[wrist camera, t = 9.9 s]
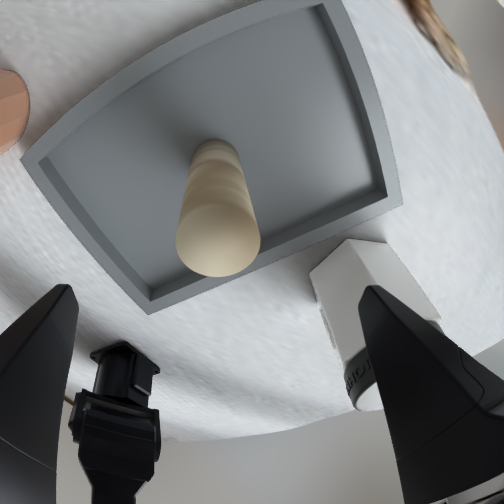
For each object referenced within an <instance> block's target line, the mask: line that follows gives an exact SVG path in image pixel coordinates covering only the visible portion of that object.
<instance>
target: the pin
mask: <svg viewBox="0 0 504 504" xmlns="http://www.w3.org/2000/svg"><path fill="white" fill-rule="evenodd" d="M260 242H261V239H260V233H259V229H258V225H257V222H256V218H255V214H254V211H253V207H252V203H251V200H250V196H249V193H248V189H247V185H246V182H245V178H244V174H243V171H242V167H241V164H240V160H239V156H238V153H237V151H236V149H235V148H234V147H233V146H232V145H231V144H230V143H229V142H227V141H225V140H221V139H210V140H207V141H205V142H203V143H201V144H200V145H199V146H198V147H197V148H196V150H195V151H194V153H193V156H192V161H191V165H190V169H189V174H188V178H187V183H186V187H185V192H184V197H183V202H182V207H181V212H180V217H179V222H178V228H177V233H176V239H175V245H176V250H177V253H178V255H179V257H180V259H181V260H182V262H183V263H184V264H185V265H186V266H187V267H188V268H190V269H191V270H193V271H195V272H197V273H199V274H202V275H205V276H210V277H224V276H229V275H233V274H236V273H238V272H240V271H242V270H243V269H245V268H246V267H248V266H249V265H250V264H251V263H252V262H253V260H254V259H255V258H256V256H257V254H258V252H259V249H260Z"/></svg>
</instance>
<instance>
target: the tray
mask: <svg viewBox="0 0 504 504" xmlns="http://www.w3.org/2000/svg"><path fill="white" fill-rule="evenodd" d="M210 139H221V140H225V141H227V142H229V143H230V144H231V145H232V146H233V147H234V148H235V149H236V151H237V153H238V156H239V160H240V164H241V167H242V171H243V174H244V178H245V182H246V185H247V189H248V193H249V196H250V200H251V203H252V207H253V211H254V214H255V218H256V222H257V225H258V229H259V233H260V239H261V242H260V249H259V252H258V254H257V256H256V258H255V259H254V260H253V262H252V263H251V264H250V265H249V266H248V267H246V268H245V269H243V270H242V271H240V272H238V273H236V274H233V275H229V276H224V277H210V276H205V275H202V274H199V273H197V272H195V271H193V270H191V269H190V268H188V267H187V266H186V265H185V264H184V263H183V262H182V260H181V259H180V257H179V255H178V253H177V250H176V245H175V239H176V233H177V228H178V222H179V217H180V212H181V207H182V202H183V197H184V192H185V187H186V183H187V178H188V174H189V169H190V165H191V161H192V156H193V153H194V151H195V150H196V148H197V147H198V146H199V145H200V144H201V143H203V142H205V141H207V140H210ZM19 160H20V161H21V163H22V164H23V166H24V167H25V169H26V170H27V172H28V173H29V175H30V176H31V178H32V179H33V181H34V182H35V184H36V185H37V187H38V188H39V189H40V191H41V192H42V194H43V195H44V196H45V198H46V199H47V200H48V202H49V203H50V205H51V206H52V207H53V209H54V210H55V211H56V212H57V214H58V215H59V216H60V218H61V219H62V220H63V222H64V223H65V224H66V225H67V227H68V228H69V229H70V230H71V232H72V233H73V234H74V235H75V236H76V238H77V239H78V240H79V241H80V242H81V244H82V245H83V246H84V247H85V248H86V250H87V251H88V252H89V253H90V254H91V255H92V257H93V258H94V259H95V260H96V261H97V262H98V263H99V265H100V266H101V267H102V268H103V269H104V270H105V271H106V272H107V273H108V274H109V276H110V277H111V278H112V279H113V280H114V281H115V282H116V283H117V284H118V285H119V286H120V287H121V288H122V289H123V290H124V292H125V293H126V294H127V295H128V296H129V297H130V298H131V299H132V300H133V301H134V302H135V303H136V304H137V305H138V306H139V307H140V308H141V309H142V310H143V311H144V312H145V313H146V314H147V315H150V314H152V313H155V312H157V311H160V310H162V309H165V308H167V307H169V306H172V305H174V304H177V303H179V302H181V301H184V300H186V299H189V298H191V297H193V296H196V295H198V294H201V293H203V292H205V291H208V290H210V289H213V288H215V287H217V286H220V285H222V284H224V283H227V282H229V281H231V280H234V279H236V278H238V277H241V276H243V275H245V274H248V273H250V272H252V271H255V270H257V269H259V268H262V267H264V266H266V265H269V264H271V263H273V262H276V261H278V260H280V259H282V258H285V257H287V256H289V255H292V254H294V253H296V252H298V251H301V250H303V249H305V248H308V247H310V246H312V245H314V244H317V243H319V242H321V241H323V240H326V239H328V238H330V237H332V236H335V235H337V234H339V233H341V232H343V231H346V230H348V229H350V228H352V227H355V226H357V225H359V224H361V223H363V222H366V221H368V220H370V219H372V218H374V217H377V216H379V215H381V214H383V213H385V212H388V211H390V210H392V209H394V208H396V207H398V206H401V205H403V199H402V193H401V187H400V181H399V176H398V171H397V165H396V161H395V156H394V151H393V147H392V143H391V138H390V134H389V130H388V126H387V123H386V119H385V115H384V112H383V108H382V105H381V101H380V98H379V95H378V91H377V88H376V85H375V82H374V79H373V76H372V73H371V70H370V68H369V65H368V62H367V59H366V57H365V54H364V51H363V49H362V46H361V44H360V41H359V39H358V36H357V34H356V32H355V29H354V27H353V25H352V22H351V20H350V18H349V16H348V14H347V11H346V9H345V7H344V5H343V3H342V1H341V0H262V1H259V2H256V3H253V4H250V5H247V6H245V7H242V8H239V9H237V10H234V11H232V12H229V13H227V14H224V15H222V16H219V17H217V18H215V19H212V20H210V21H208V22H206V23H204V24H201V25H199V26H197V27H195V28H193V29H191V30H189V31H187V32H185V33H183V34H181V35H179V36H177V37H175V38H173V39H172V40H170V41H168V42H166V43H164V44H163V45H161V46H159V47H157V48H156V49H154V50H152V51H151V52H149V53H147V54H146V55H144V56H142V57H141V58H139V59H138V60H136V61H134V62H133V63H131V64H130V65H128V66H127V67H125V68H124V69H122V70H121V71H119V72H118V73H117V74H115V75H114V76H112V77H111V78H109V79H108V80H107V81H105V82H104V83H103V84H101V85H100V86H99V87H97V88H96V89H95V90H93V91H92V92H91V93H90V94H88V95H87V96H86V97H85V98H83V99H82V100H81V101H80V102H79V103H77V104H76V105H75V106H74V107H73V108H71V109H70V110H69V111H68V112H67V113H66V114H65V115H63V116H62V117H61V118H60V119H59V120H58V121H57V122H56V123H55V124H54V125H53V126H51V127H50V128H49V129H48V130H47V131H46V132H45V133H44V134H43V135H42V136H41V137H40V138H39V139H38V140H37V141H36V142H35V143H34V144H33V145H32V146H31V147H30V149H29V150H28V151H27V152H26V153H25V154H24V155H23V156H22V157H21V158H20V159H19Z"/></svg>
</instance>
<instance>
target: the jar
mask: <svg viewBox="0 0 504 504" xmlns="http://www.w3.org/2000/svg"><path fill="white" fill-rule="evenodd" d="M309 275H310V279H311V282H312V286H313V289H314V293H315V296H316V299H317V303H318V306H319V309H320V313H321V316H322V319H323V322H324V325H325V328H326V331H327V334H328V337H329V340H330V343H331V346H332V348H333V349H334V350H335V353H336V356H337V359H338V362H339V365H340V367H341V370H342V373H343V376H344V380H345V383H346V389H347V392H348V395H349V397H350V399H351V401H352V404H353V406H354V408H356V409H357V410H359V411H375V410H381V409H384V408H383V404H382V401H381V397H380V394H379V390H378V387H377V383H376V380H375V376H374V373H373V370H372V366H371V363H370V360H369V357H368V353H367V349H366V345H365V340H364V336H363V331H362V326H361V322H360V317H359V313H358V304H359V301H360V299H361V297H362V294H363V292H364V290H365V288H366V287H367V286H368V285H380V286H381V287H383V288H384V289H385V290H387V291H388V292H389V293H391V294H392V295H394V296H395V297H396V298H398V299H399V300H400V301H402V302H403V303H404V304H405V305H407V306H408V307H409V308H411V309H412V310H413V311H415V312H416V313H417V314H419V315H420V316H421V317H422V318H424V319H425V320H426V321H428V322H429V323H430V324H431V325H433V326H434V327H435V328H437V329H438V330H439V331H440V332H442V333H443V334H444V332H443V331H442V329H441V327H440V326H439V325H440V321H441V316H440V315H439V313H438V312H437V310H436V309H435V307H434V306H433V304H432V303H431V301H430V300H429V298H428V297H427V295H426V294H425V292H424V291H423V290H422V288H421V287H420V285H419V284H418V282H417V281H416V280H415V278H414V277H413V275H412V274H411V273H410V271H409V270H408V269H407V267H406V266H405V265H404V263H403V262H402V261H401V259H400V258H399V257H398V255H397V254H396V253H395V251H394V250H393V249H392V248H391V246H390V245H389V244H387V243H379V242H371V241H363V240H355V239H346V240H345V241H344V242H343V243H342V244H340V245H339V246H338V247H337V248H336V249H335V250H334V251H333V252H332V253H331V254H330V255H329V256H328V257H327V258H325V259H324V260H323V261H322V262H321V263H320V264H319V265H318V266H317V267H316V268H314V269H313V270H312V271H311V272H310V274H309ZM444 335H445V334H444Z"/></svg>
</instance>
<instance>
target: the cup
mask: <svg viewBox="0 0 504 504" xmlns="http://www.w3.org/2000/svg"><path fill="white" fill-rule="evenodd" d="M29 111H30V99H29V93H28V89H27V86H26V84H25V82H24V80H23V79H22V78H21V77H20V75H18V74H17V73H15V72H13V71H10V70H0V155H1V154H2V153H4V152H6V151H7V150H9V149H10V147H11V146H13V145H14V144H15V143H16V142H17V141H18V140H19V139H20V137H21V136H22V134H23V132H24V130H25V128H26V125H27V122H28V118H29Z"/></svg>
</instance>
